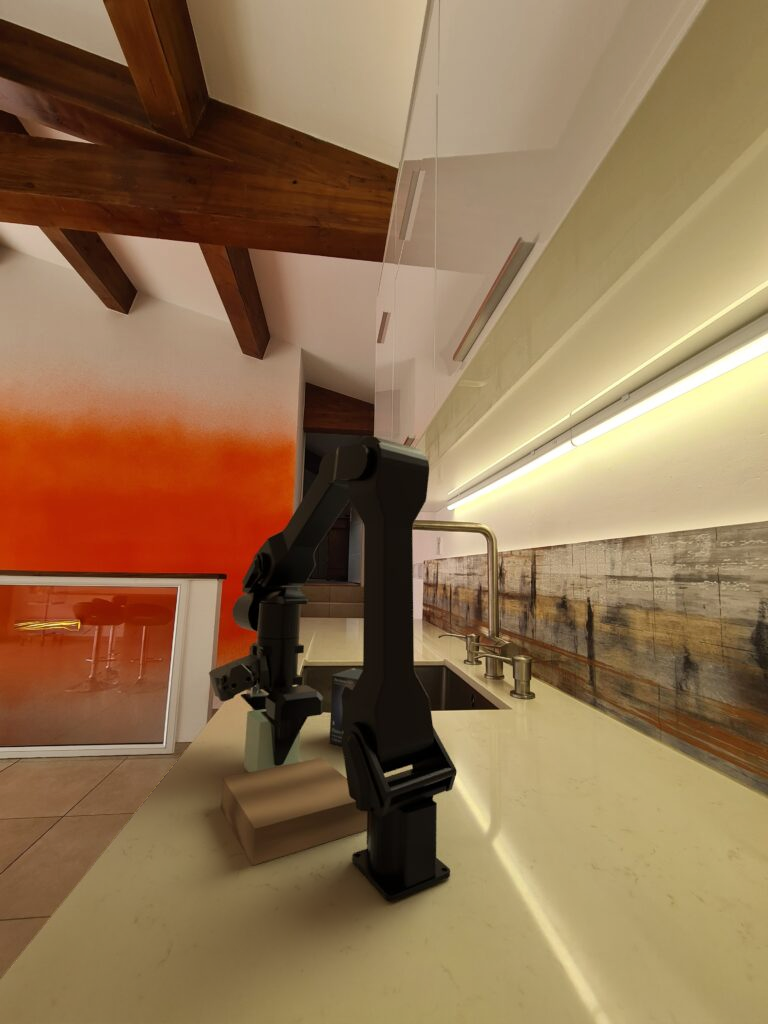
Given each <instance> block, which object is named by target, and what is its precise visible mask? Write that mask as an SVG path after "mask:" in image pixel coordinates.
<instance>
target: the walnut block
mask: <svg viewBox="0 0 768 1024" xmlns="http://www.w3.org/2000/svg"><path fill="white" fill-rule="evenodd" d="M221 784H222V785H221V797H220V809H221V810H222V812H223V813H224V816H225V818H226V820H227V822H228V823H229V825H230V827H231V828H232V831H233V832H234V834H235V836H236V838H237V840H238V842H239V843H240V845H241V847H242V849H243V850H244V852H245V854H246V856H247V858H248V860H249V862H250V864H251V865H252V866H256V865H259V864H262V863H265V862H268V861H272V860H275V859H279V858H281V857H284V856H288V855H291V854H294V853H298V852H300V851H304V850H307V849H311V848H313V847H314V848H315V847H317V846H320V845H323V844H325V843H329V842H333V841H335V840H336V841H337V840H340V839H342V838H345V837H349V836H351V835H355V834H358V833H361V832H364V831H367V811H360V810H358V809H357V808H356V801H355V800H354V799H352V798H351V797H350V795H349V789H348V783H347V776H344V775H343V774H342V773H341V772H339V770H337V769H336V768H334V766H332V765H331V764H330V763H328V762H327V761H326V760H325V759H323V758H322V757H318V758H313V759H308V760H303V761H298V762H297V763H292V764H288V765H283V766H278V767H273V768H268V769H263V770H258V771H253V772H248V771H247V772H244V773H240V774H234V775H228V776H224V777H222V783H221Z"/></svg>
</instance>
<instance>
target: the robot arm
mask: <svg viewBox="0 0 768 1024" xmlns="http://www.w3.org/2000/svg"><path fill="white" fill-rule="evenodd" d="M429 463H430V462H429V458H428V457H427V455H425V454H424V453H423V451H422V450H420V449H419V448H416V447H414V446H409V445H407V444H403V443H398V442H395V441H391V440H388V439H385V438H381V437H377V436H375V435H374V436H373V435H370V436H366V437H364V438H362V440H360V441H359V443H358V444H351V445H344V446H338V447H337V449H336V452H329V453H326V454H325V455H324V456H323V457H322V459H321V461H320V463H319V468H318V469H319V470H318V473H317V475H316V477H315V478H314V480H313V482H312V483H311V485H310V486H309V488H308V490H307V491H306V494H304V496H303V497H302V500H301V501H300V503H299V505H298V507H296V509H295V511H294V513H293V515H292V516H291V518H290V520H289V521H288V523H287V524H286V526H285V527H284V529H283V530H281V531H280V532H278V533H275V534H273V535H271V536H269V537H268V538H267V539H266V540H265V541H264V543H262V545H261V546H260V548H259V549H258V550H257V552H256V553H255V555H254V556H253V558H252V561H251V564H250V565H249V568H248V570H247V571H246V573H245V575H244V577H243V579H242V588H241V592H242V593H243V594H242V595H240V596H239V597H238V598H237V599H236V601H235V602H234V605H233V607H232V611H231V613H232V618H233V621H234V622H235V624H236V625H237V626H239V628H242V629H244V630H248V631H253V632H256V642H251V643H252V644H251V645H250V646H249V652H248V655H246V656H243V657H240V658H237V659H235V660H232V661H229V662H228V663H225V664H223V665H220V666H218V667H216V668H214V669H212V670H210V671H209V672H208V675H209V678H210V681H211V682H210V683H211V685H212V689H213V693H214V696H215V697H217V698H218V699H219V701H220V702H227V701H230V700H232V699H234V697H236V695H238V694H240V697H241V699H243V700H244V701H245V702H246V703H247V704H248V705H249V706H250V707H251V711H255V710H262V709H266V711H264V712H261V714H262V715H263V716H264V717H265V718H266V719H267V720H268V721H269V722H270V724H271V733H272V747H273V758H274V765H275V766H279V765H282V764H283V763H284V761H285V759H286V757H287V755H288V753H289V751H290V749H291V747H292V745H293V743H294V741H295V739H296V737H297V735H298V733H299V732H300V733H301V729H302V728H303V726H304V725H305V723H306V721H307V719H308V718H309V717H315V716H316V717H317V716H320V715H322V714H324V696H322V695H321V693H320V692H319V691H318V690H316V689H315V688H312V687H311V686H309V685H307V684H304V685H303V676H302V675H300V674H299V673H298V665H299V654H305V653H304V651H305V650H304V649H305V646H304V645H303V644H300V632H301V631H300V629H301V628H300V627H301V607H302V606H304V605H305V606H306V605H307V604H308V602H309V601H308V599H307V597H306V595H305V594H304V593H303V592H302V591H301V588H302V587H304V586H305V585H306V583H307V582H308V581H309V579H310V577H311V575H312V573H313V571H314V570H315V567H316V565H317V564H316V558H315V552H316V550H317V548H318V546H319V545H320V543H321V542H322V541H323V540H324V538H325V536H326V534H327V533H328V532H329V531H330V529H331V528H332V526H333V525H334V523H335V522H336V521H337V519H338V517H339V516H340V515H341V513H342V512H343V510H345V509H344V508H345V507H346V506H347V504H348V503H349V501H351V503H352V505H353V507H354V509H355V511H356V513H357V514H358V516H359V518H360V519H361V522H362V523H363V528H364V531H363V533H364V537H363V538H364V540H363V543H364V545H363V548H364V549H363V550H364V551H363V553H364V554H363V568H364V569H363V633H362V634H363V638H362V639H363V646H362V651H363V654H362V656H363V659H362V662H363V664H362V670H363V671H362V673H361V675H360V677H359V679H358V681H357V683H356V684H355V685H354V686H347V687H345V688H344V690H343V693H342V723H341V727H340V732H343V736H342V746H341V747H342V752H343V754H342V755H343V759H344V768H345V775H346V778H347V783H348V789H349V795H350V797H351V798H352V799H354V800H355V801H356V808H357V809H358V810H360V811H367V830H366V848H364V849H361V850H359V851H355V852H353V853H352V855H351V860H352V861H351V862H352V863H353V864H354V865H355V866H356V868H358V869H359V871H360V872H361V873H362V874H363V875H364V876H365V878H367V879H368V881H369V882H370V883H371V884H372V885H373V886H374V887H375V889H377V891H378V892H379V893H380V894H381V895H382V897H383V898H384V899H385V900H386V901H389V902H394V901H397V900H399V899H402V898H405V897H406V896H409V895H411V894H414V893H416V892H418V891H421V890H423V889H426V888H427V887H431V886H433V885H435V884H437V883H439V882H442V881H444V880H447V879H449V878H450V877H451V869H450V868H449V866H447V865H446V863H444V862H443V861H442V860H440V859H439V858H438V857H437V831H438V830H437V821H438V820H437V818H438V817H437V815H438V813H437V812H438V811H437V810H438V809H437V807H438V803H437V802H436V801H434V796H437V795H439V794H441V793H444V792H450V791H451V790H453V786H454V784H455V780H456V776H457V772H458V770H457V768H456V766H455V764H454V763H453V761H452V759H451V757H450V755H449V753H448V751H447V750H446V748H445V746H444V744H443V742H442V740H441V738H440V737H439V735H438V733H437V731H436V729H435V727H434V724H433V716H432V708H431V707H432V706H431V702H430V697H429V695H428V693H427V692H426V690H425V687H424V686H423V684H422V682H421V680H420V679H419V677H418V675H417V673H416V670H415V658H414V657H415V656H414V655H415V651H414V650H415V649H414V648H415V647H414V645H415V643H414V634H415V633H414V562H413V561H414V559H413V558H414V554H413V553H414V551H413V548H414V547H413V543H414V542H413V537H414V535H413V527H414V523H415V521H416V519H417V518H418V516H419V514H420V512H421V511H422V509H423V507H424V506H425V503H426V501H427V496H428V488H429V487H428V486H429V480H430V479H429V477H430V464H429ZM245 691H246V692H245ZM244 692H245V693H244ZM241 693H242V694H241ZM409 766H412V768H410V769H407V770H403V771H401V772H397V773H395V774H391V775H389V776H386V775H385V774H387V773H391V772H394V771H396V770H399V769H403V768H406V767H409Z"/></svg>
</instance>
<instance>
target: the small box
mask: <svg viewBox="0 0 768 1024" xmlns="http://www.w3.org/2000/svg"><path fill="white" fill-rule="evenodd" d="M362 671H363V669H360V668H353V667H352V668H348V669H346V670H343V671H340V672H338V673H337V672H336V673H334V674H332V675H331V678H332V679H331V697H330V698H331V699H330V701H331V702H330V722H329V724H330V725H329V742H328V743H329V744H333V745H336V746H341V747H342V736H343V732H340V727H341V723H342V693H343V690H344V688H345V687H347V686H354V685H355V684H356V683H357V681H358V679H359V677H360V675H361V673H362Z"/></svg>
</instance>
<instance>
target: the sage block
mask: <svg viewBox="0 0 768 1024" xmlns="http://www.w3.org/2000/svg"><path fill="white" fill-rule="evenodd" d="M264 711H266V709H262V710H255V711H253V710H248V711H246V712H247V714H246V729H245V730H246V731H245V744H244V759H243V760H244V761H243V767H244V769H245V770H246V771H247V773H248V772H253V771H258V770H263V769H268V768H273V767H278V766H275V765H274V758H273V747H272V733H271V724H270V722H269V721H268V720H267V719H266V718H265V717H264V716H263V715H262V714H261V712H264ZM300 734H301V731H300V732H299V733H298V735H297V737H296V739H295V741H294V743H293V745H292V747H291V749H290V751H289V753H288V755H287V757H286V759H285V761H284V763H283V764H282V765H279V766H283V765H288V764H292V763H297V762H299V754H300V739H301V738H300V737H301V735H300Z"/></svg>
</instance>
